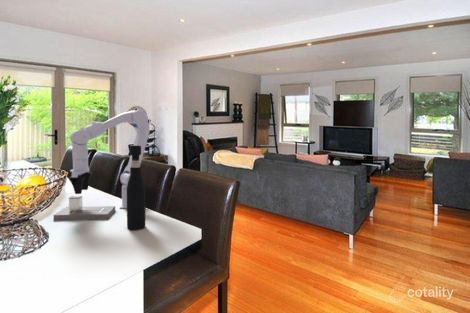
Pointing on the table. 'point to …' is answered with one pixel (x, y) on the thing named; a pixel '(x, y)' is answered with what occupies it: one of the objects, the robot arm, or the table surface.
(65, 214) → the fader console
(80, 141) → the robot arm
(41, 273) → the table surface
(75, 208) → the fader knob
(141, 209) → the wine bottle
